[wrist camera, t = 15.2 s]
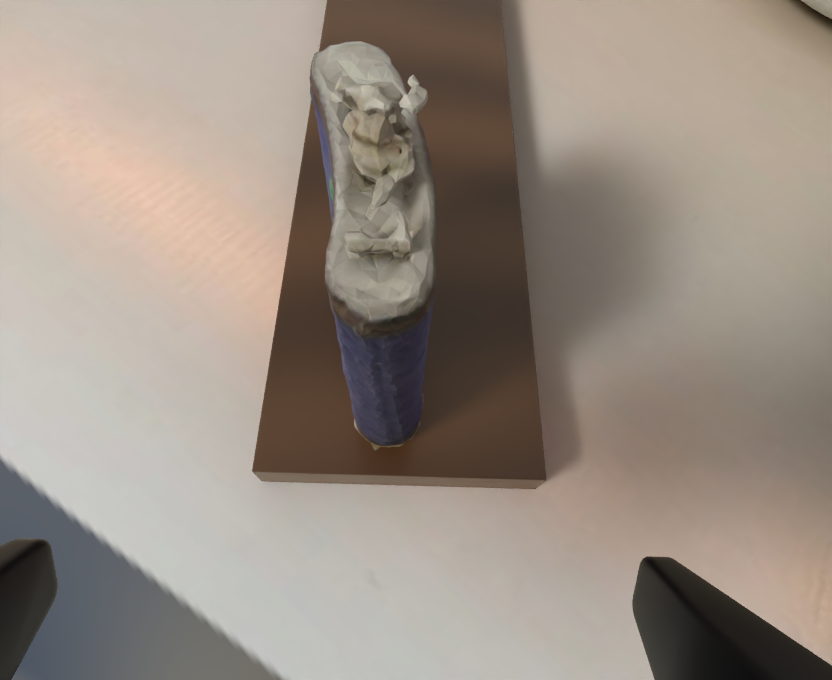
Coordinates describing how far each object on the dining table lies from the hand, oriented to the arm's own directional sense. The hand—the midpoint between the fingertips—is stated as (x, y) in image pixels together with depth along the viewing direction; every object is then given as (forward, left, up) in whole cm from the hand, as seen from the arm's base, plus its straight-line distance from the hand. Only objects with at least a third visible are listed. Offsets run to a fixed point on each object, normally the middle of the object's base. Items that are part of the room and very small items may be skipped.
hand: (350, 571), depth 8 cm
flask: (+6, +6, -9) cm, 13 cm away
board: (+18, +15, -11) cm, 26 cm away
